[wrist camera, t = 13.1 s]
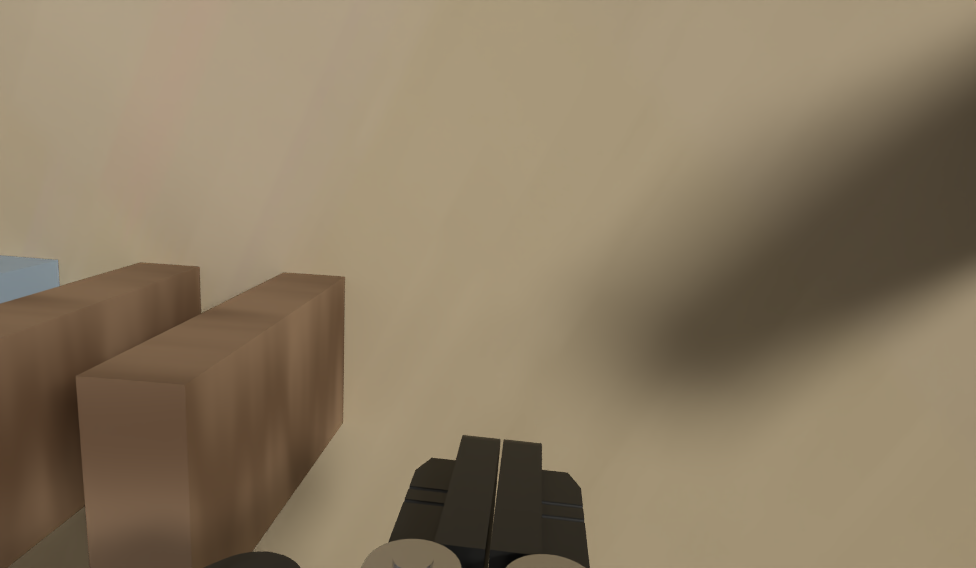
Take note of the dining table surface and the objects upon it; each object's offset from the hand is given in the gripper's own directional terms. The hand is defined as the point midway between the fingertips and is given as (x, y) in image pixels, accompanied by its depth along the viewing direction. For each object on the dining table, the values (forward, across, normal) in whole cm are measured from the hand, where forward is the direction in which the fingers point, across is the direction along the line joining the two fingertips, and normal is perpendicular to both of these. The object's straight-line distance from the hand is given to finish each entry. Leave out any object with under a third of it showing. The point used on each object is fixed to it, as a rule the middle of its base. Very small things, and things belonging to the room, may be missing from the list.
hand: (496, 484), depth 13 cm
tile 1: (+9, +7, +1) cm, 11 cm away
